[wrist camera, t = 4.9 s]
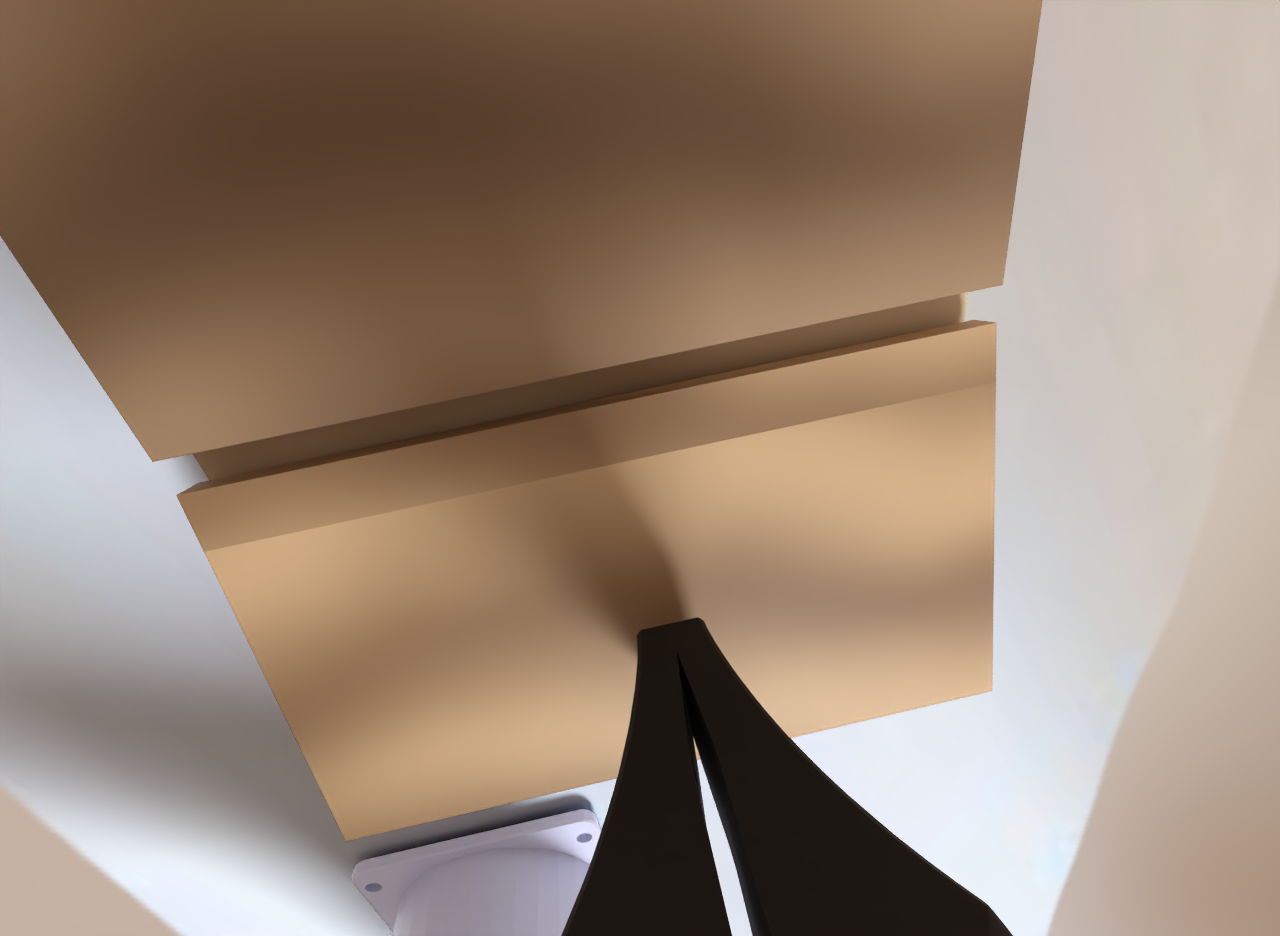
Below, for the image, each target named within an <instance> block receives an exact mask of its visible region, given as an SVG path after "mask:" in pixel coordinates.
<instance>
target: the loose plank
mask: <svg viewBox="0 0 1280 936" xmlns="http://www.w3.org/2000/svg"><path fill="white" fill-rule="evenodd" d="M995 404H996V323H995V322H986V321H978V320H971V321H966V322H962V323H957V324H952V325H947V326H943V327H938V328H933V329H928V330H924V331H919V332H914V333H909V334H905V335H900V336H895V337H890V338H886V339H881V340H876V341H871V342H866V343H862V344H857V345H852V346H847V347H843V348H838V349H833V350H828V351H824V352H819V353H814V354H809V355H805V356H800V357H795V358H790V359H786V360H781V361H776V362H771V363H766V364H762V365H757V366H752V367H747V368H743V369H738V370H733V371H728V372H724V373H719V374H714V375H709V376H705V377H700V378H695V379H690V380H686V381H681V382H676V383H671V384H667V385H662V386H657V387H652V388H647V389H643V390H638V391H633V392H628V393H624V394H619V395H614V396H609V397H605V398H600V399H595V400H590V401H586V402H581V403H576V404H571V405H567V406H562V407H557V408H552V409H547V410H543V411H538V412H533V413H528V414H524V415H519V416H514V417H509V418H505V419H500V420H495V421H490V422H486V423H481V424H476V425H471V426H467V427H462V428H457V429H452V430H448V431H443V432H438V433H433V434H428V435H424V436H419V437H414V438H409V439H405V440H400V441H395V442H390V443H386V444H381V445H376V446H371V447H367V448H362V449H357V450H352V451H348V452H343V453H338V454H333V455H328V456H324V457H319V458H314V459H309V460H305V461H300V462H295V463H290V464H286V465H281V466H276V467H271V468H267V469H262V470H257V471H252V472H248V473H243V474H238V475H233V476H229V477H224V478H219V479H214V480H209V481H205V482H200V483H198V484H196V485H194V486H192V487H190V488H189V489H187V490H185V491H183V492H181V493H180V494H178V495H176V496H177V498H178V500H179V502H180V504H181V506H182V508H183V510H184V512H185V514H186V516H187V518H188V520H189V522H190V524H191V526H192V528H193V530H194V532H195V534H196V536H197V538H198V540H199V543H200V545H201V547H202V549H203V551H204V553H205V555H206V557H207V559H208V561H209V563H210V565H211V567H212V569H213V571H214V573H215V575H216V577H217V579H218V581H219V583H220V585H221V587H222V590H223V592H224V594H225V596H226V598H227V600H228V602H229V604H230V606H231V608H232V610H233V612H234V614H235V616H236V618H237V620H238V622H239V624H240V626H241V628H242V630H243V632H244V634H245V637H246V639H247V641H248V643H249V645H250V647H251V649H252V651H253V653H254V655H255V657H256V659H257V661H258V663H259V665H260V667H261V669H262V671H263V673H264V675H265V677H266V679H267V681H268V683H269V686H270V688H271V690H272V692H273V694H274V696H275V698H276V700H277V702H278V704H279V706H280V708H281V710H282V712H283V714H284V716H285V718H286V720H287V722H288V724H289V726H290V728H291V730H292V733H293V735H294V737H295V739H296V741H297V743H298V745H299V747H300V749H301V751H302V753H303V755H304V757H305V759H306V761H307V763H308V765H309V767H310V769H311V771H312V773H313V775H314V777H315V780H316V782H317V784H318V786H319V788H320V790H321V792H322V794H323V796H324V798H325V800H326V802H327V804H328V806H329V808H330V810H331V812H332V814H333V816H334V818H335V820H336V822H337V824H338V827H339V829H340V831H341V833H342V835H343V837H344V839H345V841H350V840H355V839H359V838H363V837H367V836H372V835H376V834H380V833H385V832H389V831H393V830H398V829H402V828H406V827H410V826H415V825H419V824H423V823H428V822H432V821H436V820H440V819H445V818H449V817H453V816H458V815H462V814H466V813H471V812H475V811H479V810H483V809H488V808H492V807H496V806H501V805H505V804H509V803H513V802H518V801H522V800H526V799H531V798H535V797H539V796H544V795H548V794H552V793H556V792H561V791H565V790H569V789H574V788H578V787H582V786H586V785H591V784H595V783H599V782H604V781H608V780H612V779H617V777H618V773H619V769H620V765H621V760H622V756H623V751H624V747H625V742H626V737H627V733H628V728H629V723H630V717H631V710H632V704H633V697H634V691H635V682H636V672H637V634H638V633H639V632H640V631H641V630H643V629H648V628H652V627H656V626H661V625H665V624H670V623H674V622H679V621H683V620H688V619H692V618H697V617H699V618H700V619H702V620H704V622H705V624H706V626H707V628H708V630H709V632H710V634H711V635H712V637H713V639H714V641H715V642H716V644H717V645H718V647H719V649H720V650H721V652H722V653H723V655H724V656H725V658H726V659H727V661H728V662H729V663H730V665H731V666H732V668H733V669H734V671H735V672H736V673H737V675H738V676H739V677H740V679H741V680H742V681H743V683H744V684H745V685H746V686H747V688H748V689H749V690H750V692H751V693H752V694H753V695H754V697H755V698H756V699H757V701H758V702H759V703H760V704H761V705H762V707H763V708H764V709H765V710H766V711H767V713H768V714H769V715H770V716H771V717H772V718H773V719H774V721H775V722H776V723H777V724H778V725H779V726H780V727H781V729H782V730H783V731H784V732H785V733H786V734H787V735H788V736H789V737H790V738H793V737H797V736H801V735H805V734H810V733H814V732H818V731H823V730H827V729H831V728H835V727H840V726H844V725H848V724H853V723H857V722H861V721H866V720H870V719H874V718H878V717H883V716H887V715H891V714H896V713H900V712H904V711H908V710H913V709H917V708H921V707H926V706H930V705H934V704H939V703H943V702H947V701H951V700H956V699H960V698H964V697H969V696H973V695H977V694H981V693H986V692H990V691H992V670H993V581H994V492H995ZM693 738H694V737H693ZM694 745H695V751H696V758H697V760H698V759H700V756H699V753H698V750H697V747H696V743H695V740H694Z"/></svg>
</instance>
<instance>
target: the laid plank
mask: <svg viewBox="0 0 1280 936" xmlns="http://www.w3.org/2000/svg"><path fill="white" fill-rule="evenodd" d="M1041 7H1042V0H0V236H1V237H2V239H3V240H4V242H5V243H6V245H7V246H8V248H9V249H10V251H11V252H12V254H13V255H14V257H15V258H16V260H17V261H18V263H19V264H20V266H21V267H22V269H23V270H24V272H25V273H26V274H27V276H28V277H29V279H30V280H31V282H32V283H33V285H34V286H35V288H36V289H37V291H38V292H39V294H40V295H41V297H42V298H43V300H44V301H45V303H46V304H47V306H48V307H49V309H50V310H51V312H52V313H53V315H54V316H55V318H56V319H57V321H58V322H59V323H60V325H61V326H62V328H63V329H64V331H65V332H66V334H67V335H68V337H69V338H70V340H71V341H72V343H73V344H74V346H75V347H76V349H77V350H78V352H79V353H80V355H81V356H82V358H83V359H84V361H85V362H86V364H87V365H88V367H89V368H90V370H91V371H92V372H93V374H94V375H95V377H96V378H97V380H98V381H99V383H100V384H101V386H102V387H103V389H104V390H105V392H106V393H107V395H108V396H109V398H110V399H111V401H112V402H113V404H114V405H115V407H116V408H117V410H118V411H119V413H120V414H121V416H122V417H123V419H124V420H125V421H126V423H127V424H128V426H129V427H130V429H131V430H132V432H133V433H134V435H135V436H136V438H137V439H138V441H139V442H140V444H141V445H142V447H143V448H144V450H145V451H146V453H147V454H148V456H149V457H150V459H151V460H152V462H154V461H159V460H164V459H169V458H174V457H178V456H183V455H188V454H193V455H194V456H195V458H196V459H197V461H198V463H199V464H200V466H201V467H202V469H203V471H204V472H205V474H206V475H207V477H208V479H209V480H214V479H219V478H224V477H229V476H233V475H238V474H243V473H248V472H252V471H257V470H262V469H267V468H271V467H276V466H281V465H286V464H290V463H295V462H300V461H305V460H309V459H314V458H319V457H324V456H328V455H333V454H338V453H343V452H348V451H352V450H357V449H362V448H367V447H371V446H376V445H381V444H386V443H390V442H395V441H400V440H405V439H409V438H414V437H419V436H424V435H428V434H433V433H438V432H443V431H448V430H452V429H457V428H462V427H467V426H471V425H476V424H481V423H486V422H490V421H495V420H500V419H505V418H509V417H514V416H519V415H524V414H528V413H533V412H538V411H543V410H547V409H552V408H557V407H562V406H567V405H571V404H576V403H581V402H586V401H590V400H595V399H600V398H605V397H609V396H614V395H619V394H624V393H628V392H633V391H638V390H643V389H647V388H652V387H657V386H662V385H667V384H671V383H676V382H681V381H686V380H690V379H695V378H700V377H705V376H709V375H714V374H719V373H724V372H728V371H733V370H738V369H743V368H747V367H752V366H757V365H762V364H766V363H771V362H776V361H781V360H786V359H790V358H795V357H800V356H805V355H809V354H814V353H819V352H824V351H828V350H833V349H838V348H843V347H847V346H852V345H857V344H862V343H866V342H871V341H876V340H881V339H886V338H890V337H895V336H900V335H905V334H909V333H914V332H919V331H924V330H928V329H933V328H938V327H943V326H947V325H952V324H957V323H962V322H965V313H966V304H967V295H968V292H971V291H975V290H980V289H985V288H990V287H995V286H999V285H1003V278H1004V271H1005V264H1006V257H1007V250H1008V242H1009V235H1010V228H1011V221H1012V214H1013V207H1014V200H1015V192H1016V185H1017V178H1018V171H1019V164H1020V157H1021V149H1022V142H1023V135H1024V128H1025V121H1026V114H1027V107H1028V99H1029V92H1030V85H1031V78H1032V71H1033V64H1034V57H1035V49H1036V42H1037V35H1038V28H1039V21H1040V14H1041Z"/></svg>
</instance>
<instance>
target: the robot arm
mask: <svg viewBox="0 0 1280 936" xmlns="http://www.w3.org/2000/svg"><path fill="white" fill-rule="evenodd" d="M693 737H694V738H693ZM694 740H695V743H696V747H697V750H698V753H699V756H700V759H701V762H702V765H703V768H704V771H705V774H706V777H707V780H708V783H709V786H710V789H711V792H712V795H713V798H714V801H715V804H716V807H717V810H718V813H719V816H720V819H721V822H722V825H723V828H724V831H725V834H726V837H727V840H728V843H729V846H730V849H731V853H732V856H733V860H734V863H735V866H736V870H737V874H738V878H739V882H740V886H741V890H742V894H743V898H744V902H745V906H746V910H747V914H748V918H749V922H750V926H751V930H752V934H753V936H1013V935H1012V934H1011V933H1010V931H1009V930H1008V929H1007V928H1006V926H1005V925H1004V924H1003V923H1002V921H1001V920H1000V919H999V918H998V916H997V915H996V914H995V913H994V911H993V910H992V909H991V908H990V907H989V906H988V905H987V904H986V903H985V902H983V901H982V900H981V899H979V898H978V897H977V896H975V895H974V894H972V893H971V892H969V891H968V890H967V889H965V888H964V887H962V886H961V885H960V884H958V883H957V882H955V881H954V880H953V879H951V878H950V877H949V876H947V875H946V874H945V873H943V872H942V871H941V870H939V869H938V868H937V867H935V866H934V865H932V864H931V863H930V862H928V861H927V860H926V859H925V858H923V857H922V856H921V855H919V854H918V853H917V852H916V851H914V850H913V849H912V848H911V847H909V846H908V845H907V844H905V843H904V842H903V841H902V840H900V839H899V838H898V837H897V836H895V835H894V834H893V833H892V832H890V831H889V830H888V829H887V828H886V827H885V826H883V825H882V824H881V823H880V822H879V821H878V820H876V819H875V818H874V817H873V816H872V815H871V814H869V813H868V812H867V811H866V810H865V809H864V808H862V807H861V806H860V805H859V804H858V803H857V802H855V801H854V800H853V799H852V798H851V797H850V796H848V795H847V794H846V793H845V792H844V791H843V790H842V789H841V788H840V787H839V786H838V785H837V784H835V783H834V782H833V781H832V780H831V779H830V778H829V777H828V776H827V775H826V774H825V773H824V772H823V771H822V770H821V769H820V768H819V767H818V766H817V765H816V764H815V763H814V762H813V761H812V760H811V759H810V758H809V757H808V756H807V755H806V754H805V753H804V752H803V751H802V750H801V749H800V748H799V747H798V746H797V745H796V744H795V743H794V742H793V741H792V740H791V738H790V737H789V736H788V735H787V734H786V733H785V732H784V731H783V730H782V729H781V727H780V726H779V725H778V724H777V723H776V722H775V721H774V719H773V718H772V717H771V716H770V715H769V714H768V713H767V711H766V710H765V709H764V708H763V707H762V705H761V704H760V703H759V702H758V701H757V699H756V698H755V697H754V695H753V694H752V693H751V692H750V690H749V689H748V688H747V686H746V685H745V684H744V683H743V681H742V680H741V679H740V677H739V676H738V675H737V673H736V672H735V671H734V669H733V668H732V666H731V665H730V663H729V662H728V661H727V659H726V658H725V656H724V655H723V653H722V652H721V650H720V649H719V647H718V645H717V644H716V642H715V641H714V639H713V637H712V635H711V634H710V632H709V630H708V628H707V626H706V624H705V622H704V620H702V619H700V618H699V617H697V618H692V619H688V620H683V621H679V622H674V623H670V624H665V625H661V626H656V627H652V628H648V629H643V630H641V631H640V632H639V633H638V634H637V672H636V682H635V691H634V697H633V704H632V710H631V717H630V723H629V728H628V733H627V737H626V742H625V747H624V751H623V756H622V760H621V765H620V769H619V773H618V777H617V780H616V784H615V788H614V791H613V795H612V798H611V802H610V805H609V808H608V812H607V815H606V818H605V822H604V825H603V828H602V830H601V829H600V826H599V824H598V821H597V818H596V815H595V814H594V813H593V812H591V811H589V810H585V809H581V810H575V811H571V812H566V813H562V814H558V815H553V816H549V817H545V818H541V819H536V820H532V821H528V822H524V823H519V824H515V825H511V826H507V827H502V828H498V829H494V830H489V831H485V832H481V833H477V834H472V835H468V836H464V837H460V838H455V839H451V840H447V841H442V842H438V843H434V844H430V845H425V846H421V847H417V848H413V849H408V850H404V851H400V852H396V853H391V854H387V855H383V856H378V857H374V858H370V859H366V860H363V861H360V862H359V863H358V864H356V865H355V867H354V871H353V874H352V878H351V879H352V882H353V883H354V884H355V886H356V887H357V888H358V889H359V890H360V892H361V893H362V894H363V895H364V897H365V898H366V899H367V900H368V902H369V903H370V904H371V905H372V906H373V908H374V909H375V910H376V911H377V913H378V914H379V915H380V916H381V918H382V919H383V920H384V921H385V922H386V924H387V925H388V926H389V927H390V929H391V930H392V931H393V935H392V936H732V934H731V929H730V925H729V921H728V917H727V913H726V908H725V904H724V900H723V896H722V891H721V887H720V883H719V879H718V874H717V870H716V866H715V862H714V857H713V853H712V849H711V844H710V840H709V836H708V832H707V827H706V821H705V814H704V807H703V800H702V793H701V786H700V779H699V772H698V765H697V758H696V751H695V745H694Z"/></svg>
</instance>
